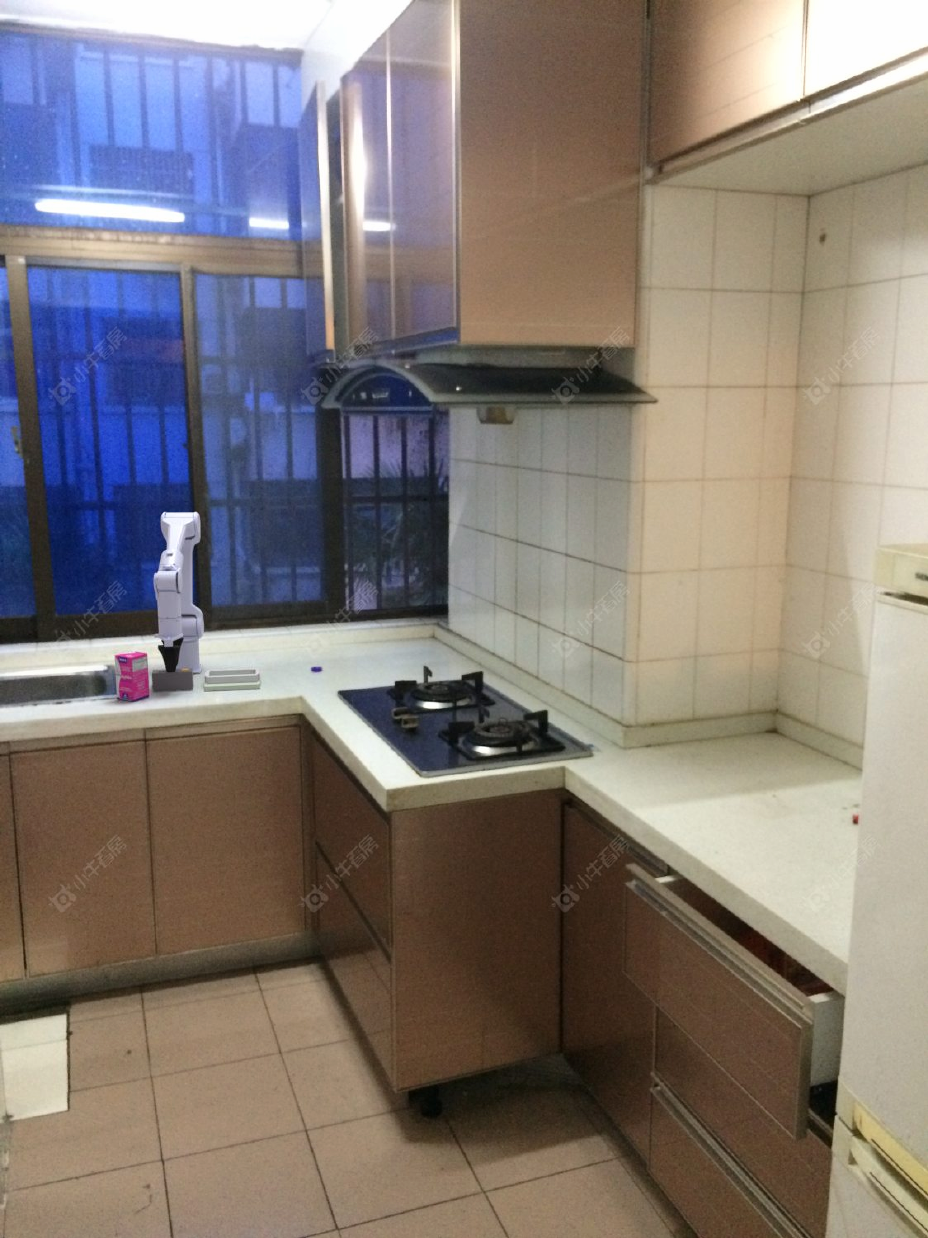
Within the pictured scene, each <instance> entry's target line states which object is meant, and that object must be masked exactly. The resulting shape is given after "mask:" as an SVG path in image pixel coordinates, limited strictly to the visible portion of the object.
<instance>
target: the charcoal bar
mask: <svg viewBox="0 0 928 1238" xmlns="http://www.w3.org/2000/svg"><path fill="white" fill-rule="evenodd" d="M151 684H152V686H151V687H152V692H153V693H157V692H160V693H161V692H177V691H176V690H182V691H193V690H194V673H193V668H188V669H176V671H175V672H169V673H167V671H166V668H165V669H153V670H152V671H151Z"/></svg>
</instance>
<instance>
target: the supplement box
mask: <svg viewBox="0 0 928 1238" xmlns="http://www.w3.org/2000/svg"><path fill="white" fill-rule="evenodd" d="M148 663H149V661H148V653H146V652H140V651H134V650H129V651H128V650H127V651H125V652H122V653H118V654H115V655H114V666H115V667H114V669H115V670H114V671H115V684H116V685H115V686H116V687H115V688H116V698H117V700H122V701H128V702H132V703H135V702H138V701H141V700H144V699H148V698H150V697H151V695H150V680H149V677H150V675H149V665H148Z"/></svg>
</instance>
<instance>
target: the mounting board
mask: <svg viewBox="0 0 928 1238" xmlns="http://www.w3.org/2000/svg"><path fill="white" fill-rule="evenodd" d="M260 673H261V672H260V669H259V668H257V667H254V668H253V667H251V668H250V667H249V668H227V669H223V668H222V669H208V670H206V671H205V672H204V685H203V692H214V691H213V690H222V691H240V690H241V691H242V690H245V691H246V690H260V689H261V685H260V683H261V680H260V679H261V676H260Z"/></svg>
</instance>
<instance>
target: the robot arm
mask: <svg viewBox="0 0 928 1238" xmlns="http://www.w3.org/2000/svg"><path fill="white" fill-rule="evenodd" d="M160 528H161V533H162V535H163V538H164V539H165V541H166V550H164V551H163V552H162V553H161V556H160V561H159V566H158V571H157V572H155V573H154V574H153V589H154V593H155V601H157V618H158V622H157V623H158V633H155V634H153V637H154V639H157V638H158V639H160V640H161V644H158V645H157V649H158V651H159V653H160V655H161V657H162V660H163V663H164V668H165V669H166V671H167V673H169V672H175V671H176V669H188V668H193V674H201V673H202V668H203V664H202V663H200V643H199V639H202V637H203V636H204V634H205V633H204V631H205V623H204V613H203V612H202V609H200V608H199V607H197V606H196V605H195V604H194V603H193V597H194V596H193V553H194V552H193V551H194V547H195V545H197V544H198V543H200V541H201V517H200V514H199V513H198V512H197V511H194V512H167V511H164V512H163V513H162V514H161V516H160Z"/></svg>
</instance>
